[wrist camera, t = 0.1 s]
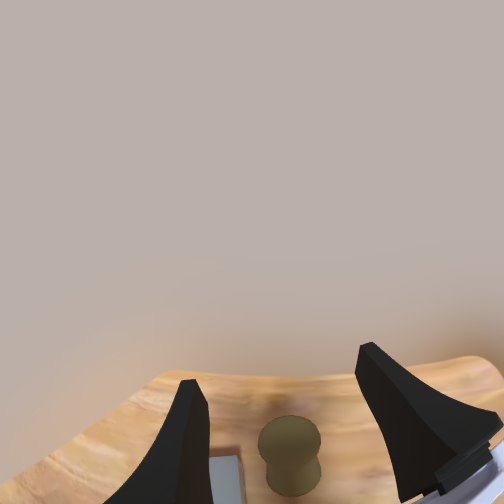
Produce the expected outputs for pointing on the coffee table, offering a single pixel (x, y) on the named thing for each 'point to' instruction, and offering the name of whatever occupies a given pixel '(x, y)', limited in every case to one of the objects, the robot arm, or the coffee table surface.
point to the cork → (291, 455)
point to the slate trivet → (227, 480)
